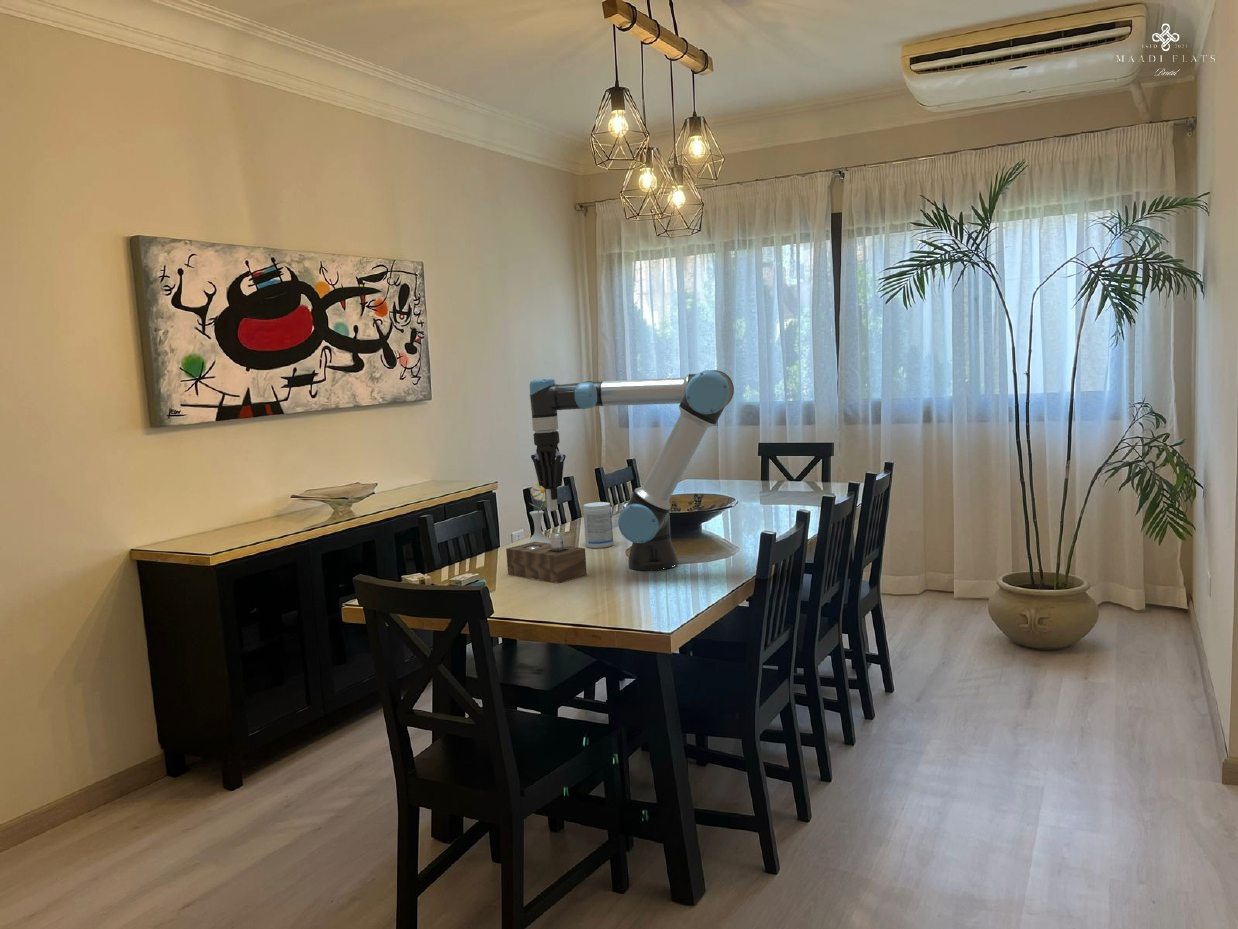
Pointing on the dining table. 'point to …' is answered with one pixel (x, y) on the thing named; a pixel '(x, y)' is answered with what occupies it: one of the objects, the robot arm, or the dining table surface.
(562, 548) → the peg near
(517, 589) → the dining table surface
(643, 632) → the dining table surface
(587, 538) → the supplement tub
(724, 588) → the dining table surface
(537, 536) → the flower in vase
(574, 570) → the block
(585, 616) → the dining table surface
